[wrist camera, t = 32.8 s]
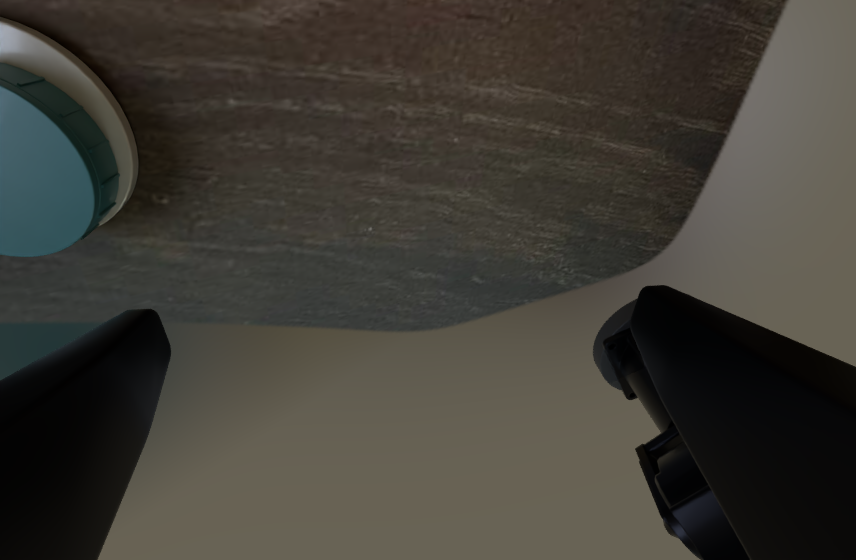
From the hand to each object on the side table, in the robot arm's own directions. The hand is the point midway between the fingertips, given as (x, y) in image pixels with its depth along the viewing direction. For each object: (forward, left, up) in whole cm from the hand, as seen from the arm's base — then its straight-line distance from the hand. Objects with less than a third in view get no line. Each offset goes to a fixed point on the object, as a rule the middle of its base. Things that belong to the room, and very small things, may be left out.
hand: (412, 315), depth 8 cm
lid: (+7, +12, -10) cm, 17 cm away
